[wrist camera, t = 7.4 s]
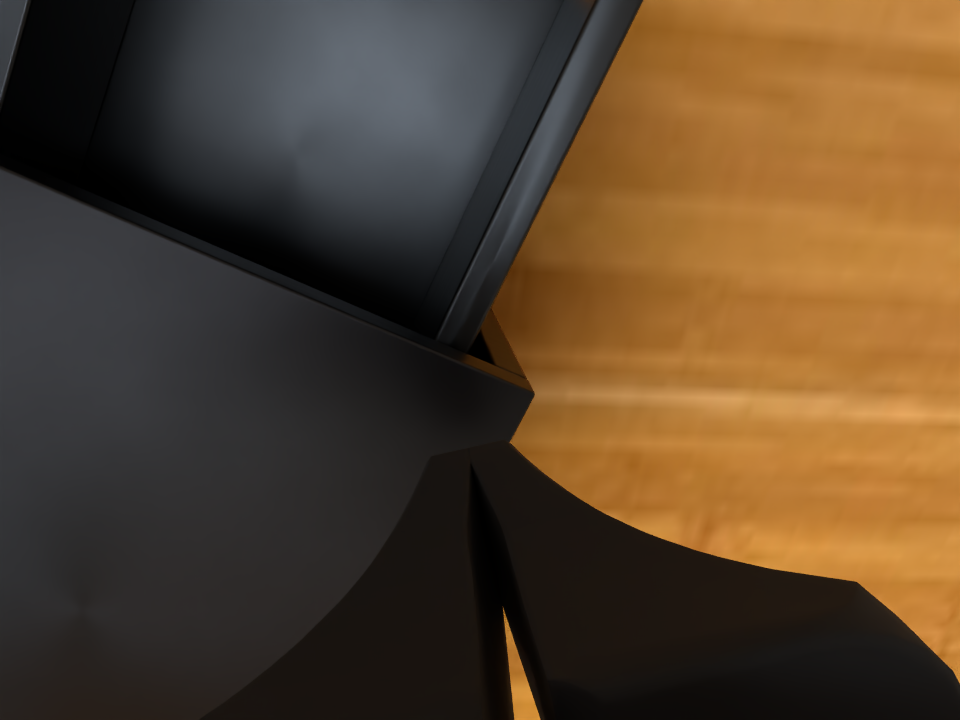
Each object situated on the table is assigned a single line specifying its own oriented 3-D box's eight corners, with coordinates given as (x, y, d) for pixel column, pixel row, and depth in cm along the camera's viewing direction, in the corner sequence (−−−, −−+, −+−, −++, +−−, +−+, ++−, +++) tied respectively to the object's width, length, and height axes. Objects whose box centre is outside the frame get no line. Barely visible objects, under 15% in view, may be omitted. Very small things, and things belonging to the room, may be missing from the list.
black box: (39, 100, 17) (-201, 81, 10) (490, 304, 20) (536, 394, 13) (-103, 592, 21) (-345, 815, 14) (293, 702, 24) (251, 928, 17)
